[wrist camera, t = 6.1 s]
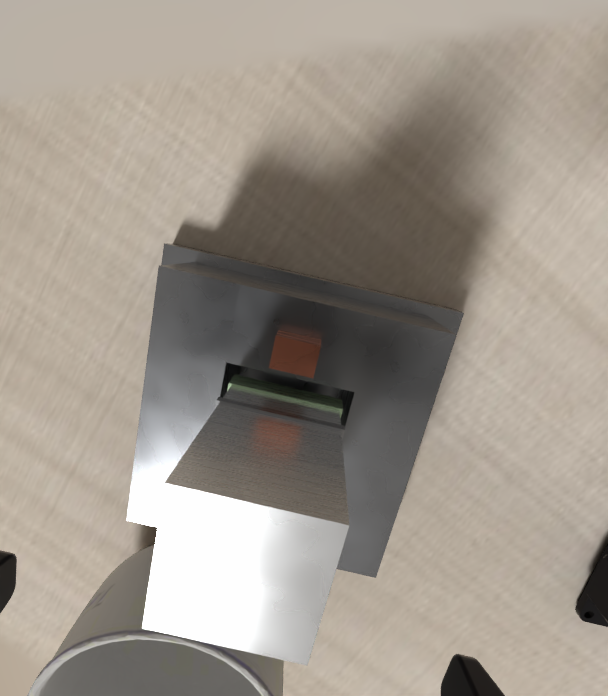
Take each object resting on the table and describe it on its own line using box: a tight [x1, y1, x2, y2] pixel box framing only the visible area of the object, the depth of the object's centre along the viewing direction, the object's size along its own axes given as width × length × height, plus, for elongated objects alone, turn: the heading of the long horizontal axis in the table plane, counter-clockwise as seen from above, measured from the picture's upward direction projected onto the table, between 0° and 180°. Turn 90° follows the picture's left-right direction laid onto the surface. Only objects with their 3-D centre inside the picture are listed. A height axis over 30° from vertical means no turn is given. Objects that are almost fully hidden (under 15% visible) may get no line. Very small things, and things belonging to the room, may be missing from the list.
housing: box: [126, 244, 464, 578], centre depth 17 cm, size 14×12×6 cm
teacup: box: [27, 545, 284, 696], centre depth 20 cm, size 14×11×8 cm
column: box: [142, 374, 349, 665], centre depth 12 cm, size 4×4×7 cm
